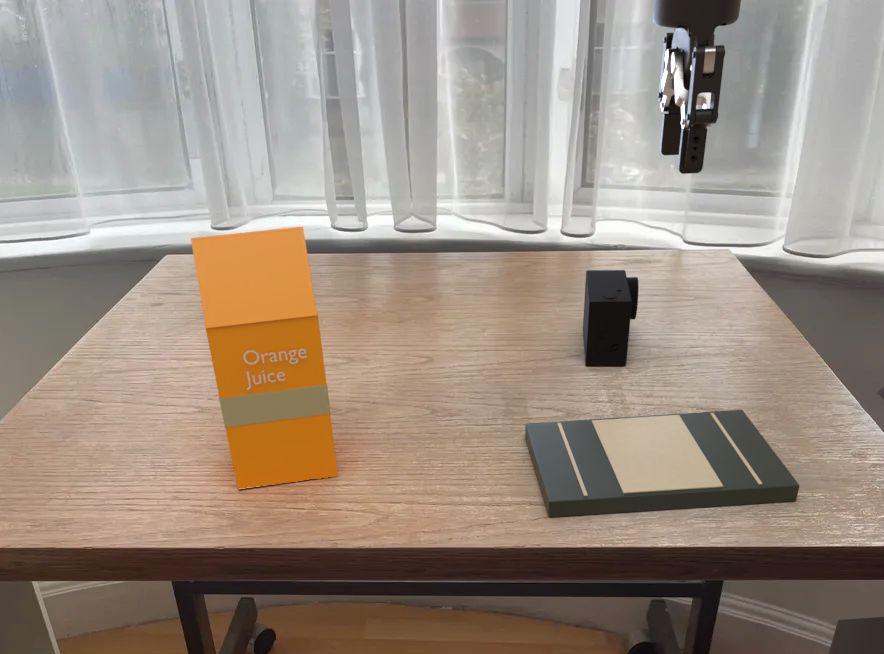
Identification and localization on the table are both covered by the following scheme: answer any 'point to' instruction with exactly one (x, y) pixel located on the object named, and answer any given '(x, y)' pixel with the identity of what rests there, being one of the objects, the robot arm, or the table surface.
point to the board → (655, 463)
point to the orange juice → (266, 355)
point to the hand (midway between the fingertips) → (679, 163)
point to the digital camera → (608, 316)
